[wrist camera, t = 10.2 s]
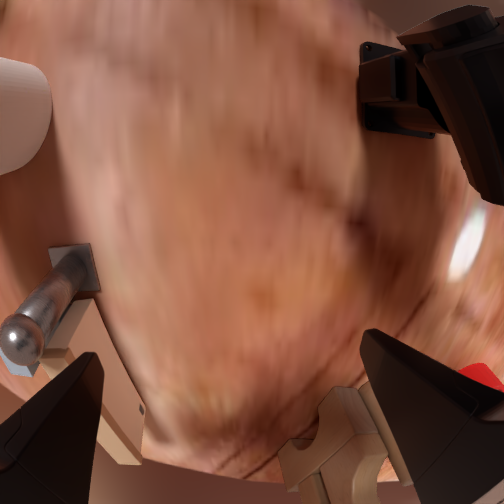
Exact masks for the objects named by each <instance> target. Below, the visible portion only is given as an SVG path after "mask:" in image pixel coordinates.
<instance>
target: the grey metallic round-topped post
mask: <svg viewBox="0 0 504 504" xmlns="http://www.w3.org/2000/svg"><path fill="white" fill-rule="evenodd" d="M48 252H49V256H50V260H51V263H52V267H53V268H52V270H51V271H50V272H49V273H48V274H47V275H46V276H45V277H44V278H43V280H42V281H41V282H40V283H39V284H38V285H37V286H36V288H35V289H34V290H33V291H32V292H31V293H30V295H29V296H28V297H27V298H26V299H25V301H24V302H23V303H22V304H21V305H20V307H19V308H18V309H17V310H16V312H15V313H14V314H12V315H10V316H8V317H7V318H6V319H5V320H4V321H3V323H2V324H1V327H0V347H1V349H2V351H3V353H4V355H5V356H6V357H7V358H8V359H9V360H10V361H11V362H13V363H15V364H17V365H20V366H29V365H32V364H34V363H36V362H37V361H38V360H39V359H40V358H41V356H42V354H43V352H44V349H45V342H46V340H47V339H48V337H49V335H50V333H51V332H52V330H53V328H54V327H55V325H56V324H57V322H58V320H59V319H60V317H61V316H62V314H63V312H64V311H65V309H66V308H67V306H68V305H69V303H70V301H71V300H72V298H73V297H74V295H75V294H76V292H77V291H97V290H100V285H99V281H98V277H97V273H96V269H95V265H94V260H93V256H92V252H91V247H90V243H89V244H78V245H67V246H57V247H49V248H48Z"/></svg>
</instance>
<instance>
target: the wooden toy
mask: <svg viewBox="0 0 504 504" xmlns="http://www.w3.org/2000/svg"><path fill="white" fill-rule="evenodd" d="M318 413H319V428H318V431H317V435H316V438H315V439H314V440H310V439H289V440H288V442H287V443H286V444H285V445H284V446H283V447H282V448H281V449H280V450H279V451H278V457H279V461H280V465H281V470H282V474H283V478H284V482H285V486H286V490H287V492H300V496H301V499H302V503H303V504H381V503H380V500H379V498H378V496H377V476H378V473H379V471H380V469H381V466H382V464H383V462H384V460H385V459H386V457H387V456H388V458H389V460H390V462H391V464H392V466H393V468H394V470H395V473H396V475H397V477H398V479H399V481H400V483H401V485H403V486H408V485H411V484H414V483H413V482H412V479H411V477H410V475H409V472H408V470H407V467H406V465H405V463H404V460H403V458H402V455H401V453H400V451H399V448H398V446H397V444H396V442H395V439H394V437H393V435H392V432H391V430H390V428H389V426H388V423H387V421H386V419H385V417H384V415H383V412H382V410H381V408H380V406H379V404H378V401H377V399H376V397H375V395H374V393H373V390H372V388H371V385H370V382H367V383H365V384H364V385H363V386H362V387H361V388H360V389H359V391H357V389H356V388H346V387H333V389H332V390H331V391H330V392H329V394H328V395H327V396H326V397H325V399H324V400H323V401H322V402H321V404H320V405H319V406H318Z"/></svg>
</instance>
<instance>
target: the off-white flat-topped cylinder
mask: <svg viewBox="0 0 504 504" xmlns="http://www.w3.org/2000/svg"><path fill="white" fill-rule="evenodd" d="M51 114H52V96H51V90H50V86H49V83H48V81H47V79H46V77H45V75H44V74H43V73H42V72H41V71H40V70H39V69H38V68H37V67H35V66H33V65H30V64H27V63H23V62H19V61H14V60H10V59H5V58H1V57H0V175H3V174H5V173H8V172H11V171H14V170H17V169H19V168H21V167H23V166H24V165H25V164H27V163H28V162H29V161H30V160H31V159H32V158H33V157H34V156H35V154H36V153H37V152H38V150H39V149H40V147H41V145H42V143H43V141H44V139H45V137H46V134H47V131H48V128H49V124H50V120H51Z"/></svg>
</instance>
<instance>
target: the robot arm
mask: <svg viewBox="0 0 504 504" xmlns="http://www.w3.org/2000/svg"><path fill="white" fill-rule="evenodd" d="M397 39H398V40H399V42H400V43H401V45H404V46H405V48H406V50H400V49H396V48H393V47H389V46H385V45H381V44H377V43H372V42H364V43H362V44H361V45H360V57H361V65H359V87H360V100H361V101H362V126H363V128H364V129H365V130H369V131H378V132H387V133H395V134H402V135H409V136H416V137H422V138H428V139H433V138H434V137H435V133H439V134H446V135H451V136H452V138H453V141H454V143H455V146H456V148H457V151H458V153H459V156H460V158H461V164H462V166H463V169H464V170H465V172H466V175H467V178H468V181H469V184H470V185H471V186H472V187H473V188H474V189H475V190H476V191H477V192H479V193H480V195H481V198H482V199H483V200H485V201H488V202H490V203H492V204H496V205H500V206H504V16H500V17H494V15H493V13H492V12H491V10H490V8H489V7H482V6H476V5H465V6H462V7H458V8H455V9H452V10H449V11H446V12H444V13H441V14H439V15H437V16H435V17H433V18H431V19H429V20H427V21H425V22H423V23H421V24H419V25H417V26H415V27H413V28H411V29H409V30H408V31H406V32H404V33H402V34H400V35H399V36H397ZM366 46H368V47H369V49H370V50H369V51H368V50H367V49H366ZM369 120H370V121H371V126H370V127H369V126H368V121H369ZM428 132H430V134H429V133H428ZM360 356H361V358H362V361H363V364H364V367H365V370H366V373H367V376H368V379H369V382H370V385H371V388H372V390H373V393H374V395H375V397H376V399H377V401H378V404H379V406H380V408H381V410H382V412H383V415H384V417H385V419H386V421H387V423H388V426H389V428H390V430H391V432H392V435H393V437H394V439H395V442H396V444H397V446H398V448H399V451H400V453H401V455H402V458H403V460H404V463H405V465H406V467H407V470H408V472H409V475H410V477H411V479H412V482H413V483H414V487H415V489H416V492H417V495H418V497H419V500H420V502H421V504H504V392H501V391H499V390H497V389H494V388H492V387H489V386H487V385H484V384H482V383H480V382H477V381H475V380H473V379H471V378H469V377H467V376H465V375H463V374H461V373H459V372H457V371H455V370H452V369H451V368H449V367H447V366H446V365H444V364H442V363H440V362H438V361H436V360H434V359H432V358H430V357H429V356H427V355H425V354H423V353H421V352H419V351H417V350H415V349H413V348H412V347H410V346H408V345H406V344H404V343H402V342H400V341H398V340H397V339H395V338H393V337H391V336H389V335H387V334H385V333H384V332H382V331H380V330H378V329H375V328H373V329H368V330H365V331H364V333H363V336H362V341H361V345H360ZM104 377H105V373H104V369H103V366H102V364H101V362H100V359H99V357H98V355H97V353H96V352H84V353H83V354H81V355H80V356H79V357H78V358H77V359H75V360H74V361H73V362H72V363H71V364H70V365H68V366H67V367H66V368H65V369H64V370H63V371H61V372H60V373H59V374H58V375H57V376H56V377H54V378H53V379H52V380H51V381H50V382H49V383H48V384H46V385H45V386H44V387H43V388H42V389H41V390H40V391H38V392H37V393H36V394H35V395H34V396H33V397H32V398H30V399H29V400H28V401H27V402H26V403H25V404H24V405H23V406H21V409H18V410H17V411H16V412H15V413H14V414H12V415H11V416H10V417H9V418H8V419H7V420H5V421H4V422H3V423H2V424H0V504H88V501H89V490H90V482H91V474H92V466H93V459H94V452H95V445H96V439H97V434H98V428H99V422H100V417H101V409H102V397H103V386H104Z"/></svg>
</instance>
